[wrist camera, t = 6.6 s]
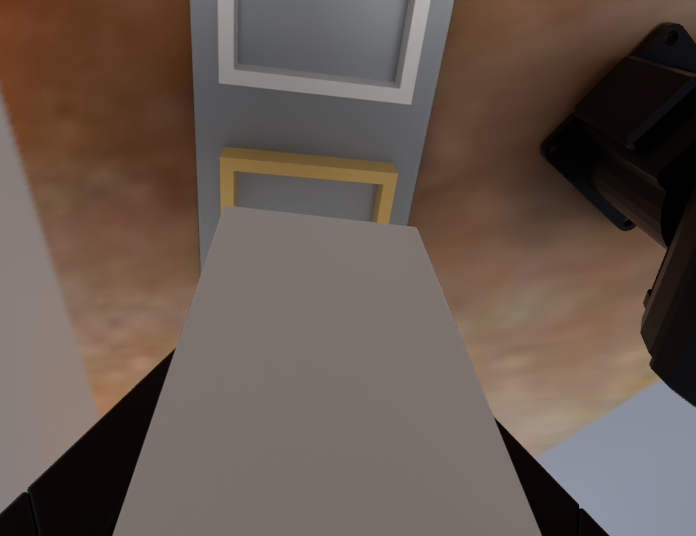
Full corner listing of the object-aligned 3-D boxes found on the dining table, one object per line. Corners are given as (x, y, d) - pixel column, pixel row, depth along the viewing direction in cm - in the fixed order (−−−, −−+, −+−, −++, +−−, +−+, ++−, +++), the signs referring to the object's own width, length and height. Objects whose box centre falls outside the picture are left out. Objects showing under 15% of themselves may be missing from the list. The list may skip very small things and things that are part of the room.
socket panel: (186, -187, 14) (172, -204, 13) (477, -136, 16) (496, -145, 14) (204, 286, 23) (196, 309, 22) (388, 297, 24) (393, 320, 23)
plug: (224, 205, 10) (40, 750, 3) (416, 227, 10) (619, 725, 4) (219, 372, 12) (109, 885, 5) (375, 382, 13) (452, 857, 6)
